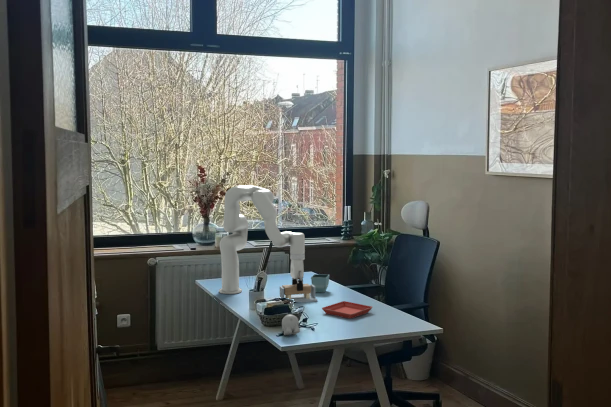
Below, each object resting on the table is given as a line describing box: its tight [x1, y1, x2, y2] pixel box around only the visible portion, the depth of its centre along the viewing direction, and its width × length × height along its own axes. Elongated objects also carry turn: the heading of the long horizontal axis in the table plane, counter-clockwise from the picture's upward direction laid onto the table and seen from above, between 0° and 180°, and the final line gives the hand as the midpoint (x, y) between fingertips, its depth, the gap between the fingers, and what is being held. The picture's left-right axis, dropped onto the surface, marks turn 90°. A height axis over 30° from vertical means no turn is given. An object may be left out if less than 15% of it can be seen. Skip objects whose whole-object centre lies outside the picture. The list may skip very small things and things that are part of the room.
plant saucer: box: [321, 300, 373, 320], centre depth 309 cm, size 18×18×3 cm
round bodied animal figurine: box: [281, 314, 301, 336], centre depth 274 cm, size 7×12×8 cm, turn 19°
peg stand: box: [279, 283, 318, 303], centre depth 336 cm, size 13×18×7 cm
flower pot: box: [310, 273, 330, 293], centre depth 355 cm, size 9×9×9 cm
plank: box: [281, 283, 311, 296], centre depth 336 cm, size 6×14×4 cm, turn 108°
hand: (297, 288), depth 336 cm, fingers open, 9 cm apart
